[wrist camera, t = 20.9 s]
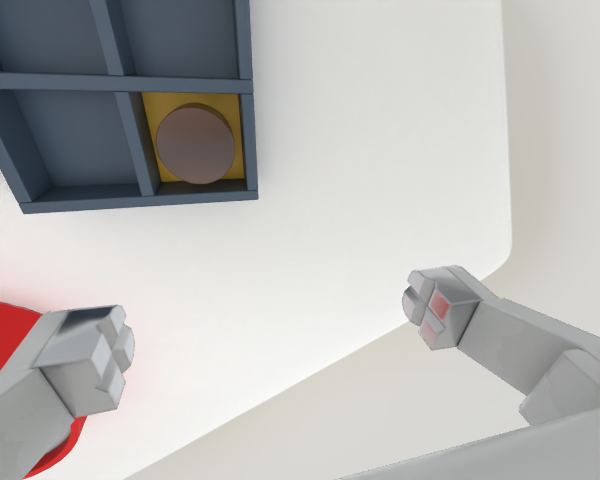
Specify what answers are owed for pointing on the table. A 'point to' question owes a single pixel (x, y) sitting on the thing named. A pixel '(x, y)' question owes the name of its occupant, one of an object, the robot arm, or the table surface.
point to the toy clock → (3, 342)
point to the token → (196, 143)
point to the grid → (119, 99)
